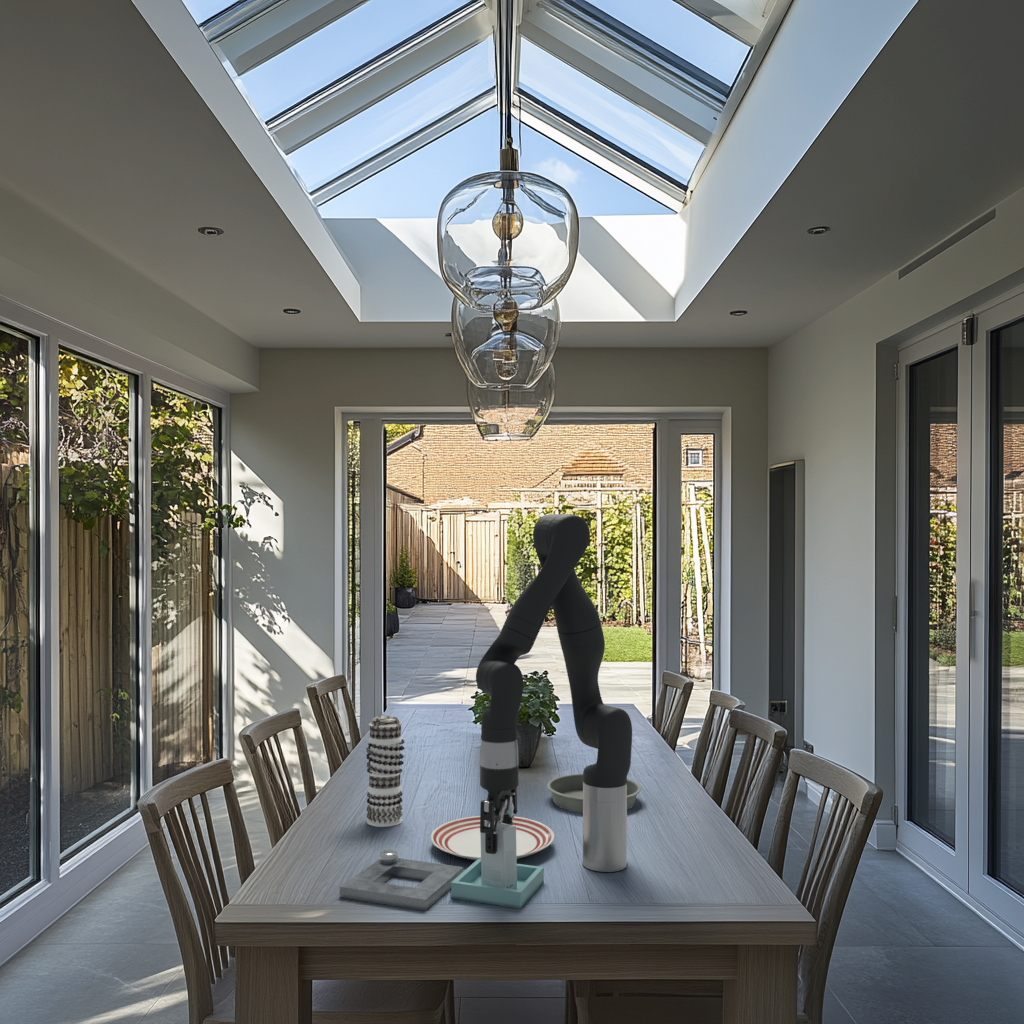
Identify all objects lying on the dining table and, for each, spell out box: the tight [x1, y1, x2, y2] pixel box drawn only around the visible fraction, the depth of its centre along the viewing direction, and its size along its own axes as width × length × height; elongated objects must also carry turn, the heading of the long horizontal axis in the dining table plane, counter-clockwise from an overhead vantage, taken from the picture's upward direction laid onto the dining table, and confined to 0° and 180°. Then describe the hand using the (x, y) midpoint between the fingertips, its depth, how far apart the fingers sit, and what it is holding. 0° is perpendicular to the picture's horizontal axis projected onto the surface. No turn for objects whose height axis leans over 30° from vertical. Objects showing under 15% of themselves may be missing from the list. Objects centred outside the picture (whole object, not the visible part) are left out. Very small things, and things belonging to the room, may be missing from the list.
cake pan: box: [546, 773, 642, 813], centre depth 239 cm, size 25×25×4 cm
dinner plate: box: [430, 815, 555, 861], centre depth 202 cm, size 28×27×3 cm
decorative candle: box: [366, 715, 405, 828], centre depth 221 cm, size 9×9×25 cm
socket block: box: [339, 849, 465, 911], centre depth 179 cm, size 18×18×4 cm
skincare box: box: [480, 823, 518, 889], centre depth 177 cm, size 6×4×12 cm
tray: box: [450, 859, 545, 910], centre depth 177 cm, size 14×14×3 cm
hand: (499, 846), depth 178 cm, fingers open, 8 cm apart
